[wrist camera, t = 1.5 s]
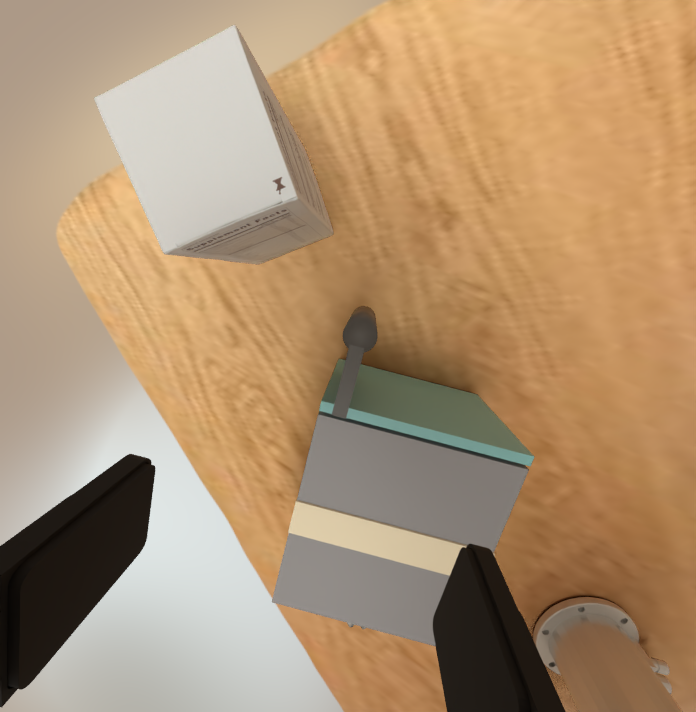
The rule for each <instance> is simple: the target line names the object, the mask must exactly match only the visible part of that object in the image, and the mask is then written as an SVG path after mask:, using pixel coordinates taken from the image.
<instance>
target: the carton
mask: <svg viewBox="0 0 696 712" xmlns="http://www.w3.org/2000/svg"><path fill="white" fill-rule="evenodd" d="M528 471H529V469H528V468H527V467H526V466H525V465H523V464H520V463H516V462H512V461H508V460H504V459H501V458H497V457H493V456H489V455H485V454H482V453H478V452H474V451H470V450H466V449H463V448H459V447H455V446H451V445H447V444H444V443H440V442H436V441H432V440H428V439H425V438H421V437H417V436H413V435H409V434H406V433H402V432H398V431H394V430H390V429H387V428H383V427H379V426H375V425H371V424H368V423H364V422H360V421H356V420H352V419H349V418H346V419H344V418H341V417H337V416H333V415H332V414H330V413H326V412H322V411H319V413H318V417H317V421H316V425H315V429H314V433H313V437H312V441H311V445H310V449H309V453H308V457H307V462H306V466H305V470H304V474H303V478H302V482H301V486H300V490H299V494H298V498H297V500H296V503H295V507H294V511H293V515H292V519H291V523H290V527H289V531H288V533H289V534H288V538H287V542H286V547H285V551H284V555H283V559H282V563H281V567H280V571H279V575H278V579H277V583H276V587H275V591H274V595H273V599H272V602H273V603H277V604H281V605H284V606H288V607H292V608H295V609H299V610H303V611H307V612H310V613H314V614H318V615H321V616H325V617H329V618H333V619H336V620H340V621H344V622H347V623H351V624H355V625H359V626H362V627H366V628H370V629H373V630H377V631H381V632H385V633H388V634H392V635H396V636H399V637H403V638H407V639H410V640H414V641H418V642H422V643H425V644H429V645H433V646H436V645H435V639H434V634H433V617H434V614H435V611H436V609H437V606H438V604H439V601H440V599H441V596H442V594H443V591H444V589H445V586H446V584H447V582H448V579H449V577H450V574H451V572H452V569H453V567H454V564H455V562H456V559H457V557H458V554H459V552H460V550H461V548H462V547H465V548H466V547H467V545H468V544H475V545H478V546H482V547H486V548H489V549H490V550H491V551H492V552H493V555H494V556H495V553H494V550H495V548H496V546H497V543H498V541H499V539H500V536H501V534H502V532H503V529H504V527H505V525H506V522H507V520H508V517H509V515H510V513H511V510H512V508H513V506H514V503H515V501H516V499H517V496H518V494H519V492H520V489H521V487H522V485H523V482H524V480H525V478H526V475H527V473H528Z"/></svg>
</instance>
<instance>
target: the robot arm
mask: <svg viewBox="0 0 696 712" xmlns="http://www.w3.org/2000/svg"><path fill="white" fill-rule="evenodd" d="M154 475H155V466H154V465H151V460H150V459H148V458H145V457H141V456H137V455H133V454H129V455H127V456H125V457H124V458H122V459H121V460H120V461H118V462H117V463H116V464H114V465H113V466H112V467H110V468H109V469H107V470H106V471H105V472H103V473H102V474H100V475H99V476H98V477H96V478H95V479H94V480H92V481H91V482H89V483H88V484H87V485H85V486H84V487H83V488H81V489H80V490H78V491H77V492H76V493H74V494H73V495H71V496H69V497H68V498H66V499H65V500H64V501H62V502H61V503H59V504H58V505H57V506H55V507H54V508H52V509H51V510H50V511H48V512H47V513H45V514H44V515H43V516H41V517H40V518H39V519H37V520H36V521H34V522H33V523H32V524H30V525H29V526H28V527H26V528H25V529H23V530H22V531H21V532H19V533H18V534H16V535H15V536H14V537H12V538H11V539H10V540H8V541H7V542H5V543H4V544H3V545H1V546H0V707H2V706H3V705H4V704H5V703H6V702H7V701H8V699H9V698H10V697H11V696H12V695H13V694H14V692H15V691H16V690H17V689H24V688H25V687H27V686H28V685H29V684H30V683H31V682H32V681H33V680H34V679H35V677H36V676H37V675H38V674H39V673H40V671H41V670H42V669H43V668H44V667H45V665H46V664H47V663H48V662H49V661H50V660H51V658H52V657H53V656H54V655H55V654H56V652H57V651H58V650H59V649H60V648H61V646H62V645H63V644H64V643H65V642H66V640H67V639H68V638H69V637H70V636H71V634H72V633H73V632H74V631H75V630H76V628H77V627H78V626H79V625H80V624H81V623H82V621H83V620H84V619H85V618H86V617H87V615H88V614H89V613H90V612H91V610H92V609H93V608H94V607H95V606H96V605H97V603H98V602H99V601H100V600H101V599H102V597H103V596H104V595H105V594H106V593H107V592H108V590H109V589H110V588H111V587H112V585H113V584H114V583H115V582H116V581H117V580H118V578H119V577H120V576H121V575H122V574H123V572H124V571H125V570H126V569H127V567H128V566H129V565H130V564H131V563H132V562H133V561H134V559H135V558H136V557H137V556H138V554H139V553H140V552H141V550H142V549H143V547H144V545H145V542H146V539H147V532H148V524H149V516H150V508H151V500H152V492H153V484H154ZM433 634H434V639H435V645H436V651H437V656H438V662H439V667H440V673H441V679H442V684H443V690H444V696H445V701H446V707H447V712H565V710H564V708H563V705H562V703H561V701H560V699H559V696H558V694H557V692H556V690H555V688H554V685H553V683H552V681H551V679H550V676H549V674H548V672H547V670H546V668H545V665H546V666H547V667H548V668H549V669H550V670H552V671H553V672H555V673H557V674H559V675H561V676H562V678H563V680H564V682H565V684H566V686H567V689H568V691H569V693H570V695H571V697H572V699H573V701H574V703H575V705H576V707H577V709H578V711H579V712H683V711H682V710H681V709H680V707H679V706H678V704H677V703H676V702H675V700H674V699H673V697H672V696H671V695H670V694H671V692H672V688H671V684H670V682H669V681H668V679H667V678H666V677H665V676H664V675H668V674H669V672H670V671H669V667H668V665H667V663H666V662H664V661H662V660H658V659H655V658H649V657H648V656H647V654H646V653H645V651H644V650H643V649H642V647H641V646H640V645H639V633H638V630H637V627H636V625H635V623H634V622H633V621H632V619H631V618H630V617H629V615H628V614H627V613H626V612H625V611H624V610H623V609H622V608H621V607H619V606H618V605H616V604H614V603H612V602H610V601H608V600H604V599H600V598H593V597H578V598H573V599H568V600H565V601H562V602H560V603H558V604H556V605H554V606H552V607H551V608H550V609H548V610H547V611H546V612H545V613H544V614H543V615H542V616H541V617H540V618H539V620H538V622H537V624H536V625H535V629H534V632H533V639H532V636H531V634H530V632H529V630H528V627H527V625H526V623H525V621H524V619H523V617H522V615H521V613H520V612H519V611H518V608H517V606H516V604H515V602H514V599H513V597H512V595H511V593H510V591H509V588H508V586H507V584H506V582H505V579H504V577H503V575H502V573H501V570H500V568H499V566H498V564H497V561H496V559H495V557H494V555H493V552H492V551H491V550H490V549H489V548H486V547H482V546H478V545H475V544H468V545H467V547H466V548H465V547H462V548H461V550H460V552H459V554H458V557H457V559H456V562H455V564H454V567H453V569H452V572H451V574H450V577H449V579H448V582H447V584H446V586H445V589H444V591H443V594H442V596H441V599H440V601H439V604H438V606H437V609H436V611H435V614H434V617H433ZM544 664H545V665H544ZM655 672H657V673H660V674H657V673H655ZM661 674H664V675H661Z"/></svg>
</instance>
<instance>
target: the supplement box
mask: <svg viewBox="0 0 696 712" xmlns="http://www.w3.org/2000/svg"><path fill="white" fill-rule="evenodd" d="M94 100H95V102H96V105H97V107H98V110H99V112H100V114H101V116H102V119H103V121H104V123H105V125H106V128H107V130H108V132H109V134H110V137H111V139H112V141H113V143H114V145H115V147H116V149H117V152H118V153H119V156H120V158H121V160H122V163H123V165H124V167H125V169H126V171H127V174H128V176H129V178H130V180H131V183H132V185H133V187H134V189H135V192H136V194H137V196H138V198H139V201H140V203H141V205H142V207H143V210H144V212H145V214H146V216H147V218H148V220H149V223H150V225H151V227H152V229H153V231H154V234H155V236H156V238H157V240H158V242H159V244H160V247H161V249H162V251H163V253H164V254H166V255H177V256H186V257H195V258H204V259H218V260H224V261H230V262H239V263H248V264H261V263H264V262H266V261H269V260H272V259H274V258H277V257H279V256H282V255H284V254H286V253H289V252H291V251H294V250H296V249H299V248H301V247H304V246H306V245H309V244H311V243H314V242H317V241H319V240H322V239H324V238H327V237H329V236H331V235H333V229H332V225H331V222H330V219H329V216H328V213H327V210H326V207H325V204H324V201H323V198H322V195H321V192H320V189H319V186H318V183H317V180H316V177H315V175H314V172H313V169H312V166H311V164H310V161H309V158H308V156H307V153H306V151H305V148H304V146H303V145H302V143H301V141H300V140H299V138H298V136H297V134H296V132H295V131H294V129H293V127H292V125H291V123H290V122H289V120H288V118H287V116H286V114H285V113H284V111H283V109H282V107H281V105H280V103H279V102H278V100H277V98H276V96H275V94H274V93H273V91H272V89H271V87H270V85H269V84H268V82H267V80H266V78H265V76H264V75H263V73H262V71H261V69H260V67H259V65H258V64H257V62H256V60H255V58H254V56H253V55H252V53H251V51H250V49H249V47H248V46H247V44H246V42H245V40H244V38H243V37H242V35H241V33H240V32H239V30H238V28H237V27H236V26H235V25H232V26H231V27H229V28H227V29H225V30H223V31H221V32H220V33H218V34H216V35H214V36H212V37H210V38H208V39H207V40H205V41H203V42H201V43H199V44H197V45H196V46H193V47H192V48H189V49H188V50H186V51H184V52H182V53H180V54H178V55H176V56H174V57H172V58H170V59H168V60H166V61H164V62H163V63H160V64H159V65H157V66H155V67H153V68H151V69H149V70H147V71H146V72H144V73H142V74H140V75H138V76H136V77H134V78H132V79H130V80H128V81H126V82H124V83H123V84H121V85H119V86H117V87H115V88H113V89H111V90H109V91H107V92H105V93H103V94H101V95H99V96H96V97H95V98H94Z"/></svg>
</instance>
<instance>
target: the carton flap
mask: <svg viewBox="0 0 696 712" xmlns="http://www.w3.org/2000/svg"><path fill="white" fill-rule="evenodd" d="M343 341H344V343H345V345H346V346H347V348H348V353H347V357H346V360H343V359H339V360H338V362H337V364H336V367H335V369H334V372H333V374H332V377H331V379H330V381H329V384H328V386H327V389H326V391H325V394H324V396H323V398H322V401H321V405H320V409H319V411H322V412H326V413H330V414H332V415H333V416H337V417H341V418H344V419H346V418H349V419H352V420H356V421H360V422H364V423H368V424H371V425H375V426H379V427H383V428H387V429H390V430H394V431H398V432H402V433H406V434H409V435H413V436H417V437H421V438H425V439H428V440H432V441H436V442H440V443H444V444H447V445H451V446H455V447H459V448H463V449H466V450H470V451H474V452H478V453H482V454H485V455H489V456H493V457H497V458H501V459H504V460H508V461H512V462H516V463H520V464H523V465H527V466H531V464H532V461H533V459H534V456H533V455H532V454H531V452H530V451H529V450H528V449H527V448H526V447H525V446H524V445H523V444H522V443H521V442H520V441H519V439H518V438H517V437H516V436H515V435H514V434H513V433H512V432H511V431H510V430H509V429H508V427H507V426H506V425H505V424H504V423H503V422H502V421H501V420H500V419H499V418H498V417H497V416H496V414H495V413H494V412H493V411H492V410H491V409H490V408H489V407H488V406H487V405H486V404H485V402H484V401H483V400H482V399H481V398H480V397H479V396H478V395H477V394H473V393H469V392H465V391H462V390H458V389H454V388H450V387H446V386H443V385H439V384H435V383H431V382H427V381H423V380H420V379H416V378H412V377H408V376H404V375H400V374H397V373H393V372H389V371H385V370H381V369H377V368H374V367H370V366H366V365H362V364H361V361H362V357H363V354H364V352H367V351H369V350H371V349H372V348H373V347H374V345H375V344H376V342H377V326H376V317H375V313H374V311H373V310H372V309H371V308H369V307H366V306H361V307H358V308H357V309H356V310H355V311H354V312H353V314H352V316H351V317H350V319H349V321H348V323H347V325H346V326H345V328H344V331H343Z"/></svg>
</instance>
